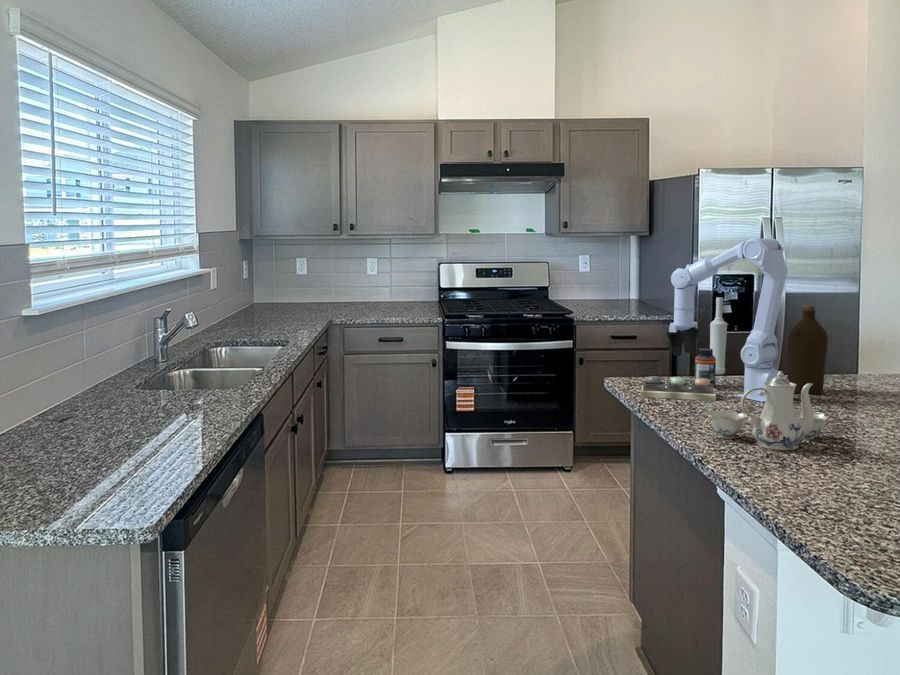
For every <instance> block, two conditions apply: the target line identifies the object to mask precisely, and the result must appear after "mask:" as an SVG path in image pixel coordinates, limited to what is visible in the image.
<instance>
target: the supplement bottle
mask: <svg viewBox="0 0 900 675" xmlns="http://www.w3.org/2000/svg"><path fill="white" fill-rule="evenodd" d="M715 373H716V358H715V357H714V356H713V349H710V347H709V348H708V347H704V348H703V347H702V348H699V349H698V355H696V356H695V358H694V380H695V379H696V378H705V379H710V384H713V388H714V387H715V386H716V374H715Z"/></svg>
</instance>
